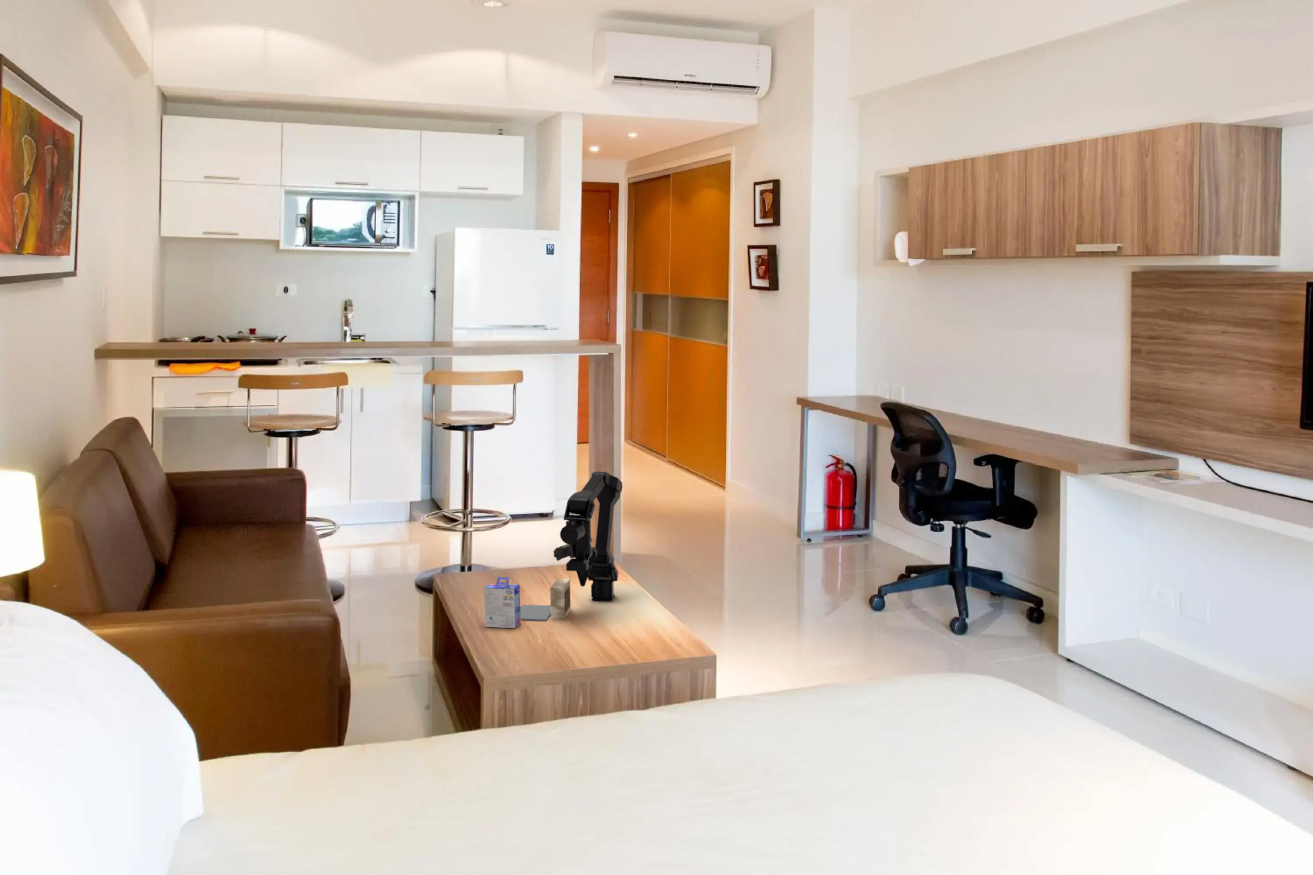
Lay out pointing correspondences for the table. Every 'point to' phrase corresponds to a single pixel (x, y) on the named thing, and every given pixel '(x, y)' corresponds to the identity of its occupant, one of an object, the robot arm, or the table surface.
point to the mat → (535, 612)
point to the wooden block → (560, 599)
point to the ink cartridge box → (502, 604)
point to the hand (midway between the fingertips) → (582, 585)
